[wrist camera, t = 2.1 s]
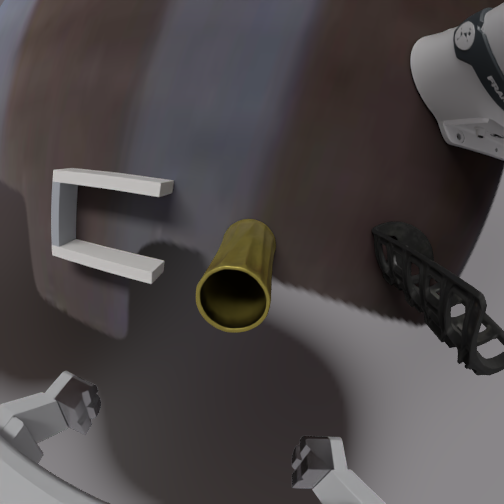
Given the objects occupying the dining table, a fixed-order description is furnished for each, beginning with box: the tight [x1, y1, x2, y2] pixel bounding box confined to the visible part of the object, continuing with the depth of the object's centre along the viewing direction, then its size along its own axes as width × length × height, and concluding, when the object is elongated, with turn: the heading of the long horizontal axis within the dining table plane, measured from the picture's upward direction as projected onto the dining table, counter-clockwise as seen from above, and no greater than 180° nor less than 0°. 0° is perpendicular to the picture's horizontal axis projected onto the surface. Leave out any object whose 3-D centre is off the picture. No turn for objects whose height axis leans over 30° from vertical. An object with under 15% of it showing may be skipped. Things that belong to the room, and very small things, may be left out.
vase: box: [196, 219, 276, 332], centre depth 26 cm, size 6×6×14 cm
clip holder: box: [51, 168, 174, 284], centre depth 31 cm, size 16×12×4 cm
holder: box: [372, 222, 504, 375], centre depth 22 cm, size 11×8×20 cm
